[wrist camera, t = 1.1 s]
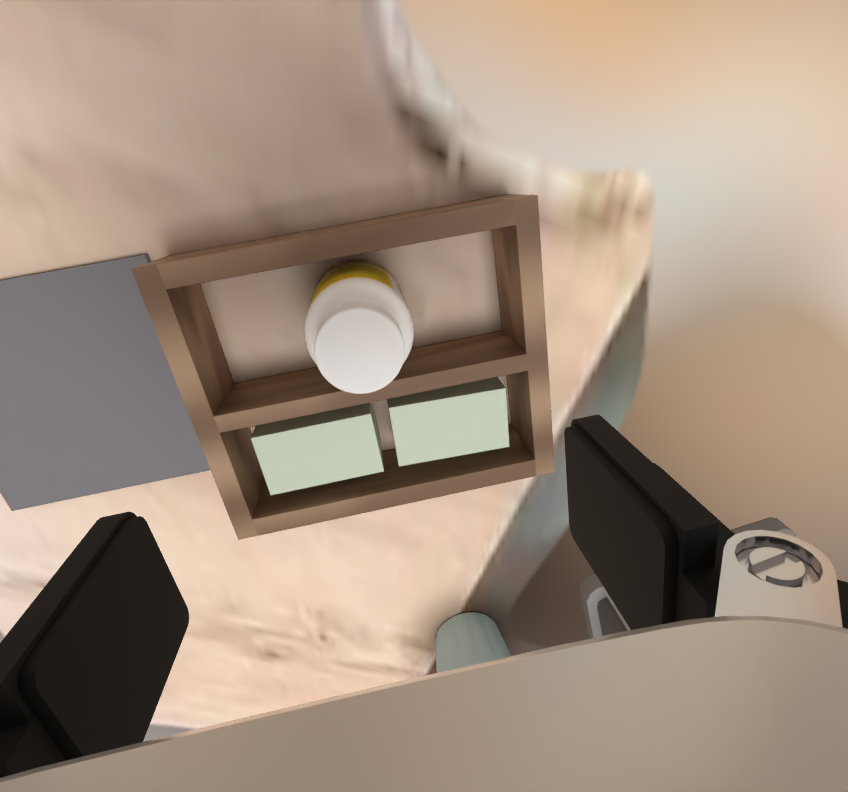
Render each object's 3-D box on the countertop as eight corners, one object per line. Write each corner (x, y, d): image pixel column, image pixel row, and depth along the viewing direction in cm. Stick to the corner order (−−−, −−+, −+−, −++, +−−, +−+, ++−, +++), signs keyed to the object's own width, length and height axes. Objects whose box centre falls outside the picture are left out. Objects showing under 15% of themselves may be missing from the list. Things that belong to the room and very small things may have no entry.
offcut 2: (384, 380, 33) (388, 408, 29) (486, 363, 33) (505, 388, 29) (393, 433, 34) (398, 466, 30) (490, 416, 35) (509, 446, 31)
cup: (466, 586, 40) (501, 709, 31) (527, 626, 43) (576, 750, 34) (404, 642, 42) (419, 776, 33) (466, 677, 45) (497, 809, 35)
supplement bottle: (295, 296, 30) (269, 342, 21) (364, 239, 29) (369, 262, 20) (353, 362, 32) (352, 429, 23) (419, 310, 31) (445, 359, 22)
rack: (167, 256, 28) (131, 269, 23) (508, 194, 29) (537, 195, 25) (253, 493, 35) (238, 539, 30) (528, 435, 36) (554, 471, 31)
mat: (-111, 300, 27) (-117, 301, 27) (147, 253, 28) (144, 254, 27) (15, 507, 33) (11, 511, 32) (227, 463, 33) (225, 466, 33)
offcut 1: (263, 406, 32) (250, 438, 28) (368, 385, 33) (370, 413, 29) (280, 458, 34) (270, 495, 30) (380, 437, 34) (383, 471, 30)
